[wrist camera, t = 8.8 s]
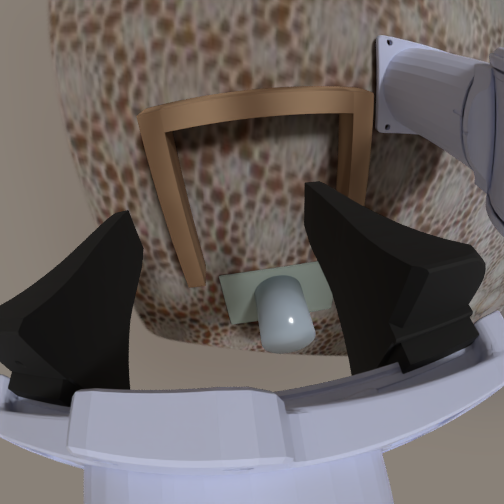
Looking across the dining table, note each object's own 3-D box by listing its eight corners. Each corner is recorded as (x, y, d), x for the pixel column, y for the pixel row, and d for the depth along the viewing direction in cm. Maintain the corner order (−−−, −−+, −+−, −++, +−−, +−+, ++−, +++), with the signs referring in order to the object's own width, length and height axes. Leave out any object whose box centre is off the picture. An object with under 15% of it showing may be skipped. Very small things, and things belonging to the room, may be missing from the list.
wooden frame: (357, 87, 16) (374, 93, 15) (345, 245, 26) (354, 262, 24) (146, 108, 16) (136, 116, 14) (190, 268, 26) (188, 287, 24)
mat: (338, 257, 27) (339, 259, 27) (330, 307, 32) (330, 308, 32) (219, 275, 27) (219, 277, 27) (231, 322, 32) (231, 324, 32)
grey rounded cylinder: (316, 300, 31) (330, 345, 26) (279, 319, 32) (288, 363, 28) (286, 267, 27) (300, 317, 22) (244, 291, 28) (251, 340, 24)
